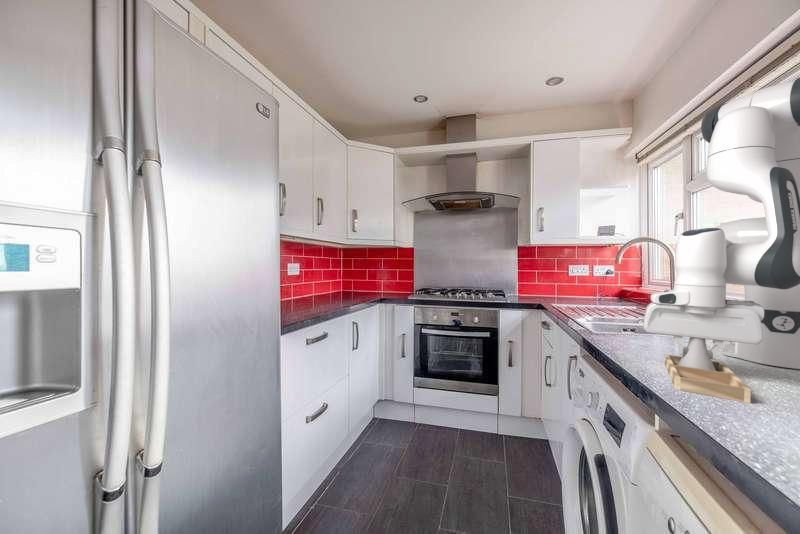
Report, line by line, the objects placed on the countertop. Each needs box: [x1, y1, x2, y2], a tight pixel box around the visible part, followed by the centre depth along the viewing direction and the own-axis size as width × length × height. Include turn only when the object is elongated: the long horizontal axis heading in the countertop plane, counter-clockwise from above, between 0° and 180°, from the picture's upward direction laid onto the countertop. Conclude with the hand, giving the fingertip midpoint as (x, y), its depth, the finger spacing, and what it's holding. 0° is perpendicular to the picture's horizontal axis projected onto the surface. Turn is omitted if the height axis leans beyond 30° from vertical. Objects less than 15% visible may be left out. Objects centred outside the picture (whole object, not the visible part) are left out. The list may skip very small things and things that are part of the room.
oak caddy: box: [664, 354, 752, 404], centre depth 70 cm, size 20×11×2 cm, turn 145°
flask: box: [678, 337, 716, 371], centre depth 74 cm, size 7×7×10 cm
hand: (696, 356), depth 74 cm, fingers closed on flask, 3 cm apart
